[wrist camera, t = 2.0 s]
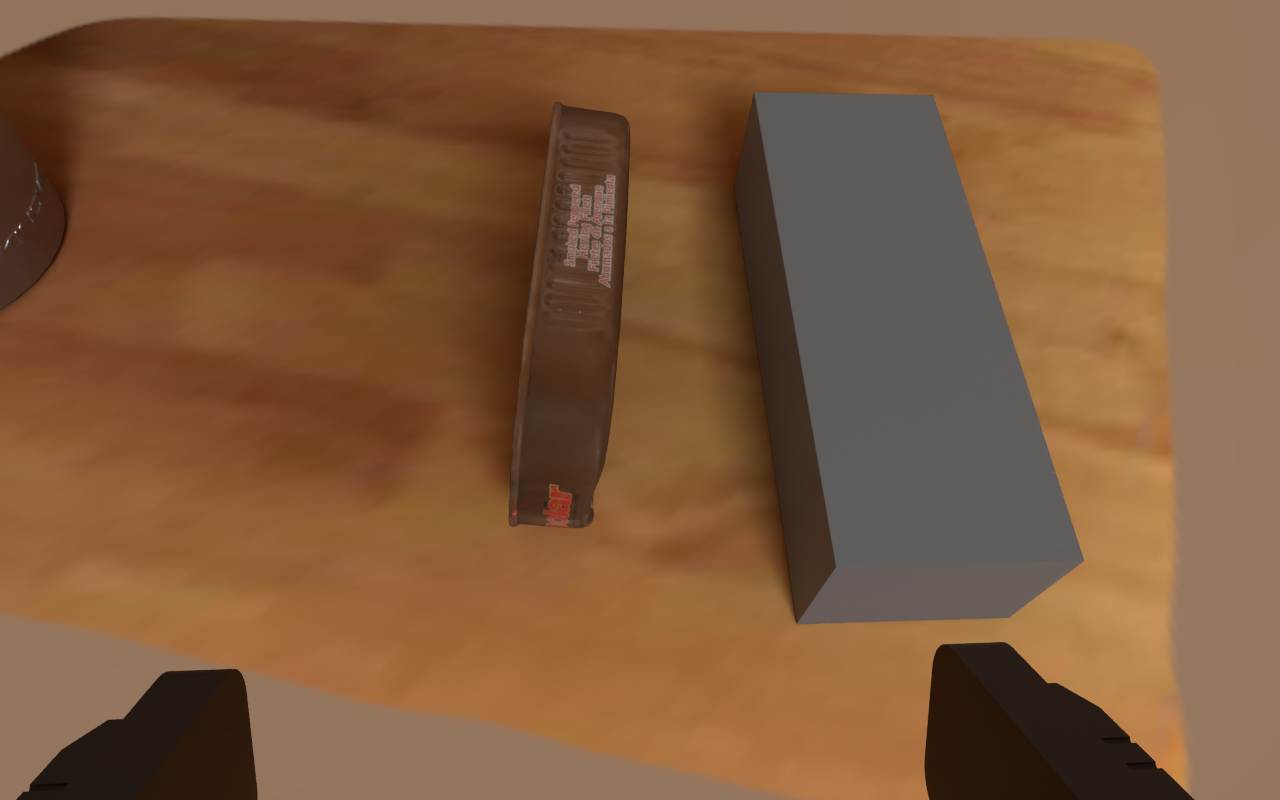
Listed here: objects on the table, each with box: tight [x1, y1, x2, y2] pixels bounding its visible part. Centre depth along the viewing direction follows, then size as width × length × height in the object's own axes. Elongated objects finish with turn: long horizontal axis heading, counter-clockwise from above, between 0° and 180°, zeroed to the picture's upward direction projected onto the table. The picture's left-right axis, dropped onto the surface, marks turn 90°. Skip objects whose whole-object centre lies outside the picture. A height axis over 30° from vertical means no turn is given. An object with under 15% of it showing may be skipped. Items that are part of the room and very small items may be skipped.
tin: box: [509, 102, 630, 528], centre depth 29 cm, size 15×3×8 cm, turn 177°
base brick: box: [734, 92, 1084, 624], centre depth 31 cm, size 7×19×5 cm, turn 3°
